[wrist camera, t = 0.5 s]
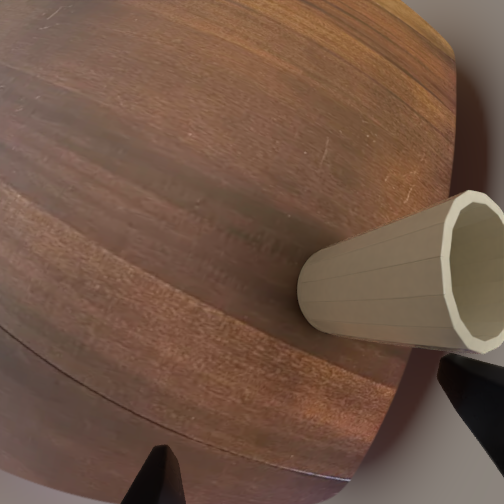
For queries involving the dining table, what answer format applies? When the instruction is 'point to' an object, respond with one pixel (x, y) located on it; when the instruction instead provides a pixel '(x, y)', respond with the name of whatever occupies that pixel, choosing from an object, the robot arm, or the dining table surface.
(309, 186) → the dining table surface
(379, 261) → the cup
